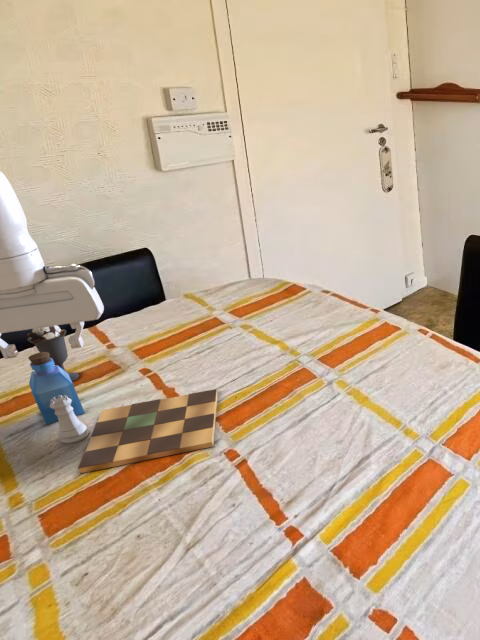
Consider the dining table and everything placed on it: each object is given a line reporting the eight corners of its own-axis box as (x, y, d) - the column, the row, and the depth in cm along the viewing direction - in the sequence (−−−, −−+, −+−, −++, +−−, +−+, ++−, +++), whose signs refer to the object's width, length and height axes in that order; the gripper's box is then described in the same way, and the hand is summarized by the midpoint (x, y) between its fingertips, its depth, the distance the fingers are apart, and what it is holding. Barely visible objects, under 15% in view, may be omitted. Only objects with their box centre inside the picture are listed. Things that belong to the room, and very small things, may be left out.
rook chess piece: (95, 434, 111) (79, 395, 107) (69, 447, 108) (51, 407, 104) (81, 428, 113) (65, 389, 109) (55, 440, 110) (38, 401, 106)
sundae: (80, 368, 135) (54, 303, 128) (86, 379, 130) (59, 312, 123) (44, 378, 131) (15, 312, 124) (49, 389, 127) (19, 321, 120)
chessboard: (80, 473, 101) (78, 468, 100) (103, 414, 117) (101, 409, 117) (213, 446, 107) (211, 441, 106) (217, 393, 123) (216, 389, 123)
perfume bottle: (46, 424, 115) (19, 366, 109) (41, 411, 119) (16, 355, 113) (84, 412, 118) (61, 356, 112) (79, 400, 122) (56, 345, 117)
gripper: (91, 256, 102) (119, 334, 109) (-60, 274, 96) (-21, 354, 102) (83, 267, 97) (113, 348, 103) (-77, 286, 91) (-35, 371, 97)
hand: (45, 351), depth 103 cm, fingers open, 8 cm apart
